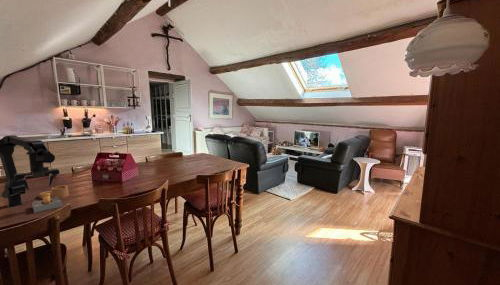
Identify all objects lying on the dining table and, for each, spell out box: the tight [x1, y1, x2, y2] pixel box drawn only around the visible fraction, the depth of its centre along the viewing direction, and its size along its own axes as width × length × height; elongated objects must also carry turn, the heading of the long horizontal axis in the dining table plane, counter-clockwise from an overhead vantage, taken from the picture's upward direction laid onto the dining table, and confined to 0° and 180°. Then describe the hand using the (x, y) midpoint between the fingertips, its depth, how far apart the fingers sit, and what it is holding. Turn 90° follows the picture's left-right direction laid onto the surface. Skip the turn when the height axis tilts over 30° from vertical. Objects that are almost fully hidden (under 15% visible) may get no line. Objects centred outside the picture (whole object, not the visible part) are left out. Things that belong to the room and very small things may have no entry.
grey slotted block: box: [32, 197, 63, 214], centre depth 132 cm, size 12×12×4 cm
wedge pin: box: [42, 193, 50, 204], centre depth 132 cm, size 4×4×8 cm
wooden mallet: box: [38, 184, 69, 200], centre depth 149 cm, size 18×8×7 cm, turn 82°
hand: (39, 188), depth 130 cm, fingers open, 9 cm apart
